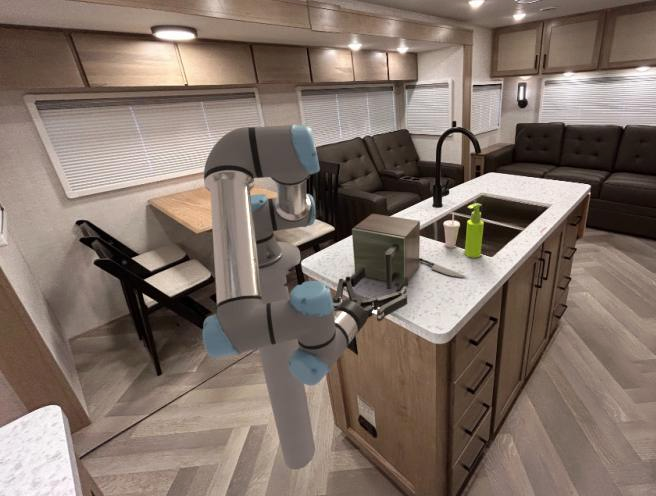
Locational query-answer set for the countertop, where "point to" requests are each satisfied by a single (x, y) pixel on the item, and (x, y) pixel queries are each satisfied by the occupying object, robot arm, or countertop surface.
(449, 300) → the countertop surface
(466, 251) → the soap dispenser
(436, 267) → the chef's knife
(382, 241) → the cupboard door
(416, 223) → the cupboard
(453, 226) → the smoothie
